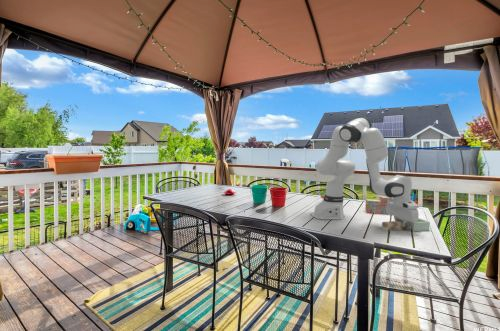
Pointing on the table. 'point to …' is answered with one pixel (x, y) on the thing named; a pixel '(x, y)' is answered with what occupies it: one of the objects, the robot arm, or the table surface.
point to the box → (420, 225)
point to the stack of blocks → (377, 205)
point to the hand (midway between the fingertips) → (400, 225)
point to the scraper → (396, 225)
